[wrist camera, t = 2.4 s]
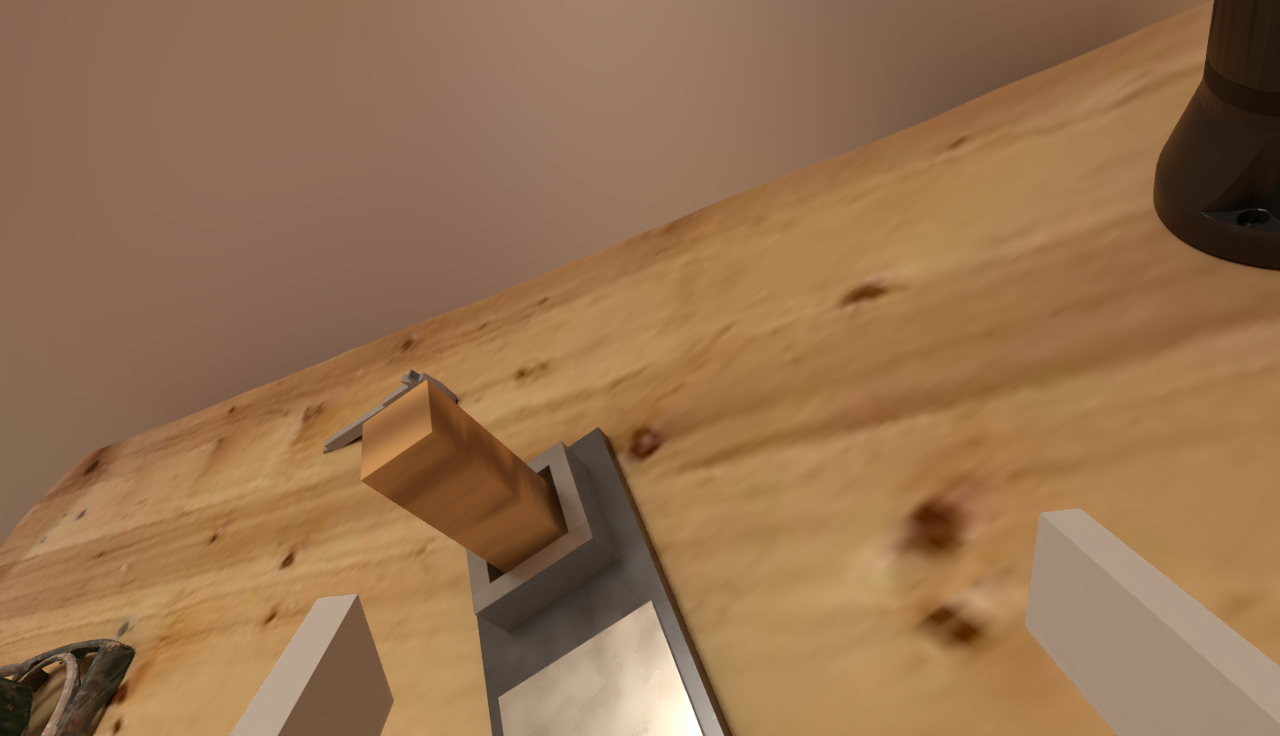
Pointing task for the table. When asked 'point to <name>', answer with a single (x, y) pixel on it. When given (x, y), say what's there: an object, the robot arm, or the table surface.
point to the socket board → (589, 620)
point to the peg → (459, 478)
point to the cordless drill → (8, 702)
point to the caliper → (357, 426)
